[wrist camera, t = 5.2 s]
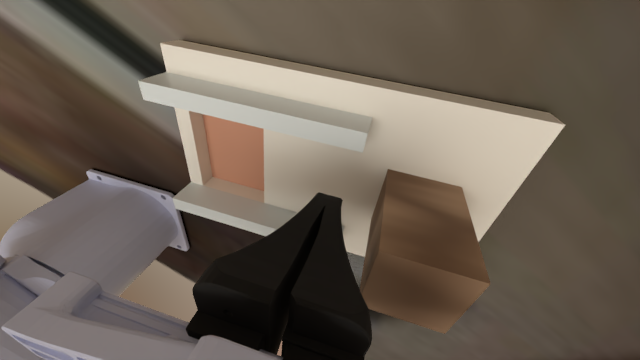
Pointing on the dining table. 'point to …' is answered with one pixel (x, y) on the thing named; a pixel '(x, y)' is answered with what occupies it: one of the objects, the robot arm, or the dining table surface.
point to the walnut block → (422, 253)
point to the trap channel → (332, 139)
